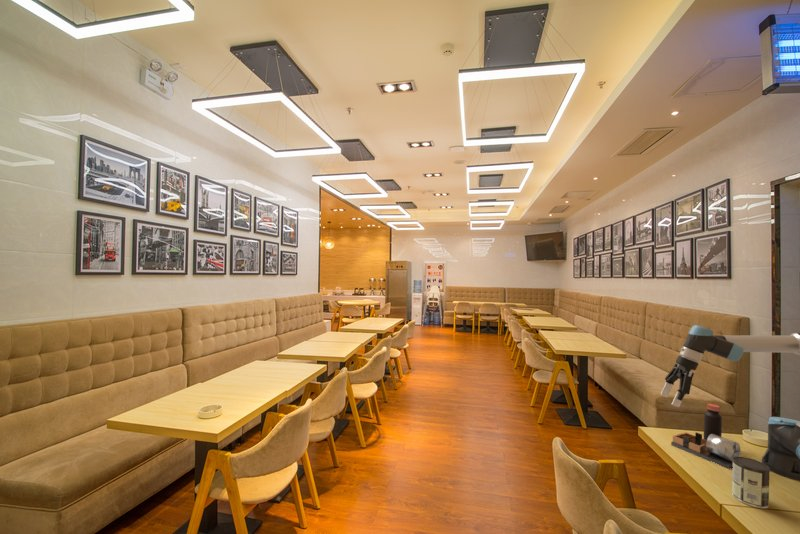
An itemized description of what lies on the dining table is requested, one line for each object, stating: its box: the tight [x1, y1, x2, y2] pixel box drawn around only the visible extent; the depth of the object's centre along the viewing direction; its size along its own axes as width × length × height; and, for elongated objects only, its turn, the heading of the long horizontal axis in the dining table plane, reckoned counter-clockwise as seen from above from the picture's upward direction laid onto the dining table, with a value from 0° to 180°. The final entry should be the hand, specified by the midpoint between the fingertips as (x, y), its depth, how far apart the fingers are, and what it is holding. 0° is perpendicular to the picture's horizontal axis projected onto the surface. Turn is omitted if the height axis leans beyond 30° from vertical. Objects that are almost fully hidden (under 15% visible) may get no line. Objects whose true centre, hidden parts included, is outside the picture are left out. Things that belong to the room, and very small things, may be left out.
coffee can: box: [731, 456, 771, 510], centre depth 135 cm, size 10×10×14 cm
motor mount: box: [670, 432, 741, 469], centre depth 170 cm, size 23×13×10 cm, turn 25°
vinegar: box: [703, 403, 723, 440], centre depth 180 cm, size 7×7×20 cm
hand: (669, 400), depth 161 cm, fingers open, 13 cm apart
